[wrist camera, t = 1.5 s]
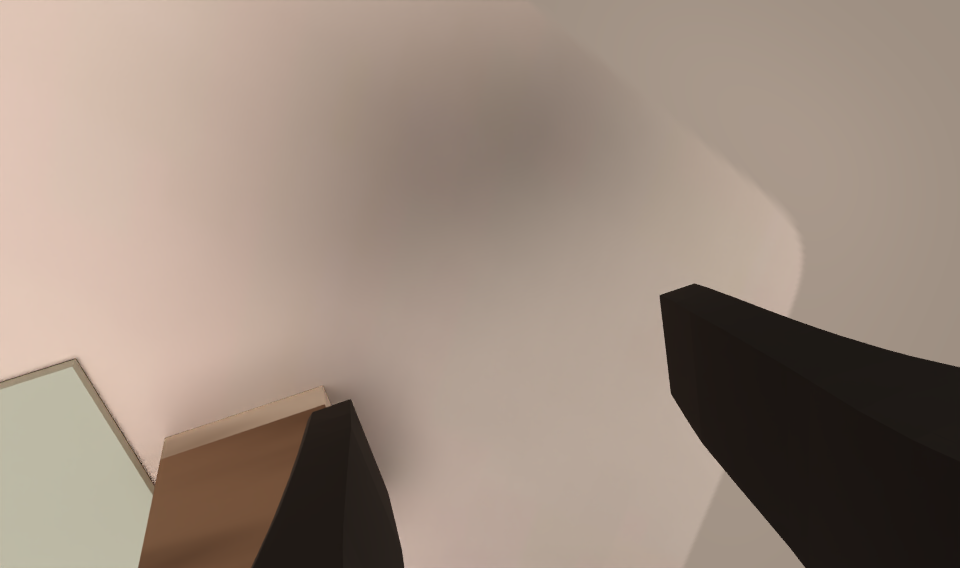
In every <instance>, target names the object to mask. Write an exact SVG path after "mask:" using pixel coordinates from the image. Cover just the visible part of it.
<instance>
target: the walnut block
mask: <svg viewBox="0 0 960 568" xmlns="http://www.w3.org/2000/svg"><path fill="white" fill-rule="evenodd" d="M329 406H331V403H330V401H329V399H328V396H327V394H326V392H325V389H324V387H323V386H320V387H317V388H314V389H311V390H308V391H305V392H302V393H299V394H296V395H293V396H290V397H287V398H284V399H281V400H278V401H275V402H272V403H269V404H266V405H263V406H260V407H257V408H254V409H251V410H248V411H245V412H242V413H239V414H236V415H233V416H230V417H227V418H224V419H221V420H218V421H215V422H212V423H209V424H206V425H203V426H200V427H197V428H194V429H191V430H188V431H185V432H182V433H179V434H176V435H173V436H170V437H167V438H165V440H164V445H163V450H162V455H161V459H160V464H159V469H158V474H157V479H156V483H155V488H154V493H153V498H152V503H151V508H150V512H149V517H148V522H147V527H146V532H145V536H144V541H143V546H142V551H141V556H140V561H139V565H138V568H251V567H252V565H253V562H254V560H255V558H256V556H257V554H258V551H259V549H260V547H261V545H262V543H263V541H264V538H265V536H266V534H267V532H268V530H269V527H270V525H271V523H272V520H273V518H274V516H275V513H276V510H277V508H278V505H279V503H280V500H281V498H282V495H283V492H284V490H285V487H286V485H287V482H288V480H289V477H290V474H291V471H292V468H293V465H294V462H295V460H296V457H297V454H298V451H299V447H300V444H301V441H302V438H303V434H304V431H305V428H306V424H307V421H308V419H309V417H310V415H311V414H312V412H314V411H317V410H320V409H323V408H326V407H329Z"/></svg>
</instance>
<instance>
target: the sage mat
mask: <svg viewBox="0 0 960 568" xmlns="http://www.w3.org/2000/svg"><path fill="white" fill-rule="evenodd" d="M154 488H155V486H154V485H153V483H152V481H151V480H150V478H149V477H148V475H147V473H146V472H145V470H144V469H143V467H142V465H141V464H140V462H139V460H138V459H137V457H136V456H135V454H134V452H133V451H132V449H131V448H130V446H129V444H128V443H127V441H126V439H125V438H124V436H123V435H122V433H121V431H120V430H119V428H118V427H117V425H116V423H115V422H114V420H113V418H112V417H111V415H110V414H109V412H108V410H107V409H106V407H105V406H104V404H103V402H102V401H101V399H100V397H99V396H98V394H97V393H96V391H95V389H94V388H93V386H92V385H91V383H90V381H89V380H88V378H87V376H86V375H85V373H84V372H83V370H82V368H81V367H80V365H79V364H78V362H77V360H76V359H74V360H71V361H68V362H64V363H61V364H58V365H55V366H52V367H49V368H46V369H42V370H39V371H36V372H33V373H30V374H27V375H23V376H20V377H17V378H14V379H11V380H8V381H5V382H1V383H0V568H138V565H139V561H140V556H141V551H142V546H143V541H144V536H145V532H146V527H147V522H148V517H149V512H150V508H151V503H152V498H153V493H154Z"/></svg>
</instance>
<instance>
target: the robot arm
mask: <svg viewBox="0 0 960 568" xmlns="http://www.w3.org/2000/svg"><path fill="white" fill-rule="evenodd" d="M660 303H661V312H662V320H663V329H664V337H665V346H666V355H667V363H668V372H669V381H670V389H671V394H672V396H673V398H674V399H675V401H676V403H677V404H678V406H679V407H680V409H681V411H682V412H683V414H684V416H685V417H686V419H687V420H688V422H689V423H690V425H691V427H692V428H693V430H694V431H695V433H696V434H697V436H698V437H699V439H700V440H701V442H702V443H703V444H704V446H705V447H706V448H707V449H708V451H709V452H710V453H711V454H712V456H713V457H714V458H715V459H716V460H717V462H718V463H719V464H720V465H721V466H722V468H723V469H724V470H725V471H726V472H727V473H728V475H729V476H730V477H731V478H732V480H733V481H734V482H735V483H736V484H737V486H738V487H739V488H740V489H741V490H742V491H743V492H744V494H745V495H746V496H747V497H748V499H749V500H750V501H751V502H752V503H753V504H754V506H755V507H756V508H757V509H758V510H759V511H760V513H761V514H762V515H763V516H764V517H765V519H766V520H767V521H768V522H769V523H770V525H771V526H772V527H773V528H774V529H775V531H776V532H777V533H778V534H779V535H780V536H781V538H783V540H784V541H785V542H786V543H787V545H788V546H789V547H790V548H791V550H792V551H793V552H794V554H795V555H796V556H797V557H798V559H799V560H800V561H801V563H802V564H803V565H804V566H805V568H960V367H955V366H951V365H947V364H942V363H938V362H934V361H930V360H925V359H920V358H917V357H912V356H908V355H905V354H901V353H897V352H893V351H890V350H886V349H882V348H879V347H876V346H872V345H869V344H866V343H862V342H859V341H856V340H853V339H849V338H846V337H843V336H839V335H837V334H833V333H831V332H827V331H825V330H821V329H818V328H815V327H813V326H810V325H807V324H804V323H801V322H798V321H796V320H793V319H790V318H787V317H785V316H782V315H779V314H777V313H774V312H771V311H768V310H766V309H763V308H761V307H758V306H755V305H753V304H750V303H747V302H745V301H742V300H739V299H737V298H734V297H732V296H729V295H726V294H724V293H721V292H718V291H715V290H713V289H710V288H707V287H704V286H701V285H697V284H692V285H689V286H686V287H683V288H680V289H677V290H674V291H671V292H668V293H665V294H662V295H660ZM251 568H404V563H403V555H402V549H401V545H400V540H399V536H398V532H397V527H396V523H395V519H394V515H393V511H392V507H391V503H390V499H389V494H388V491H387V489H386V486H385V484H384V481H383V479H382V476H381V474H380V471H379V469H378V466H377V464H376V461H375V459H374V456H373V454H372V451H371V449H370V446H369V444H368V441H367V439H366V436H365V434H364V431H363V429H362V426H361V424H360V421H359V419H358V416H357V414H356V411H355V409H354V406H353V404H352V401H351V399H350V400H347V401H344V402H341V403H338V404H335V405H332V406H329V407H326V408H323V409H320V410H317V411H314V412H312V414H311V415H310V417H309V419H308V421H307V424H306V428H305V431H304V434H303V438H302V441H301V444H300V447H299V451H298V454H297V457H296V460H295V462H294V465H293V468H292V471H291V474H290V477H289V480H288V482H287V485H286V487H285V490H284V492H283V495H282V498H281V500H280V503H279V505H278V508H277V510H276V513H275V516H274V518H273V520H272V523H271V525H270V527H269V530H268V532H267V534H266V536H265V538H264V541H263V543H262V545H261V547H260V549H259V551H258V554H257V556H256V558H255V560H254V562H253V565H252V567H251Z"/></svg>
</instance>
